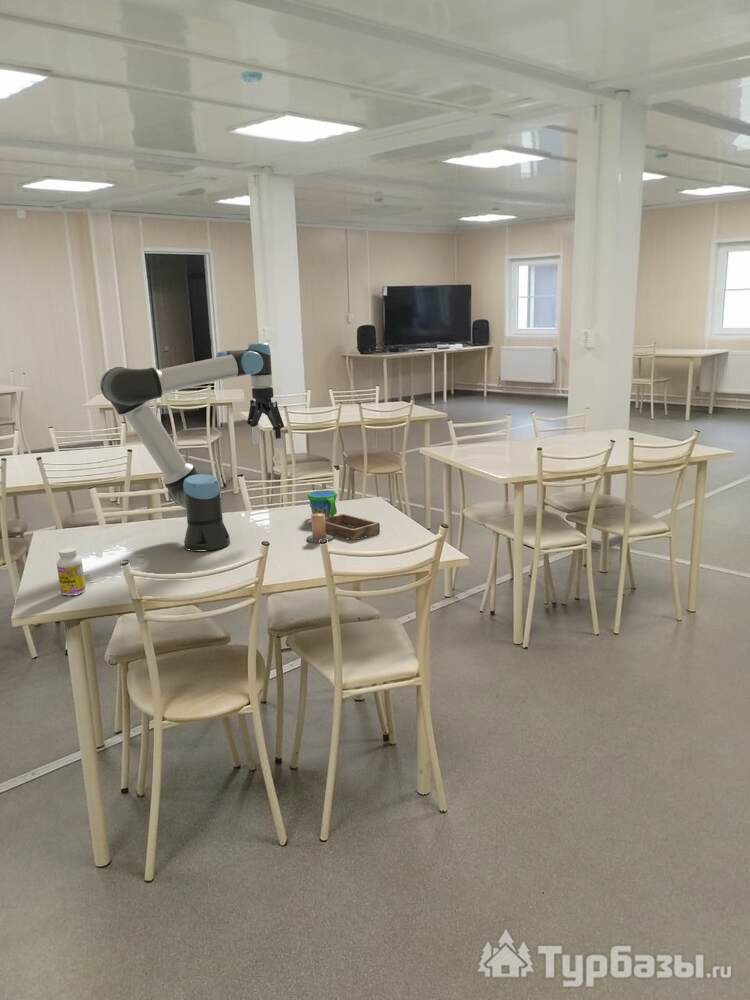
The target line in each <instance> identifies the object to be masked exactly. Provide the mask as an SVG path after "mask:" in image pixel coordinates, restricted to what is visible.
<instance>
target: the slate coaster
mask: <svg viewBox="0 0 750 1000" xmlns="http://www.w3.org/2000/svg"><path fill="white" fill-rule="evenodd" d="M325 539H328V540H329V542H330V540H331V541H333V540H334V535H333V534H330V533H326V538H325ZM319 540H320V539H313V534H311V535H308V536H306V542H307V543H311V544H320V543H319Z"/></svg>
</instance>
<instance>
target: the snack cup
mask: <svg viewBox="0 0 750 1000" xmlns="http://www.w3.org/2000/svg"><path fill="white" fill-rule="evenodd" d="M337 497H338V493H337V492H336V491H334V490H324V489H323V490H315V491H312V492H309V493H308V494H307V498H308V500H309V507H310V509H311V515H312V514H315V513H324V514H325V518H328V517H332V516H336V515H337V513H338V510H337V506H336V499H337Z"/></svg>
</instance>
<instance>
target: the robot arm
mask: <svg viewBox="0 0 750 1000" xmlns="http://www.w3.org/2000/svg"><path fill="white" fill-rule="evenodd" d="M271 357H272V354H271V348H270V344H269V343H267V342H258V343H257V342H254V343H249V344H248V348H247V349H239V350H238V349H237V350H224V351H218V352H217V353H216V355H215V357H213V358H207V359H203V360H198V361H193V362H189V363H183V364H179V365H175V366H170V367H165V368H160V369H157V368H156V367H150V368H149V367H148V368H128V367H123V366H116V367H112V368H109V369H108V370H107V371H105V372H104V374H103V375H102V377H101V379H100V382H99V385H100V392H101V394H102V395H103V397H104V398H105V399H106V400H107V401H109V402H110V404H111V405H112V407H113V408H114V409H115V411H116V412H117V414H118V416H121V417H125V418H126V419H127V421H128V422H129V424H130V425H131V427H132V428H133V430H134V431H135V433H136V434H137V436H138V438H139V439H140V441H141V442H142V444H143V445H144V447H145V448H146V450H147V452H148V453H149V455H150V456H151V457H152V459H153V461H154V462H155V463H156V465H157V466H158V468H159V470H160V471H161V473H162V474H163V480H162V482H163V484H164V485H165V487H166V489H167V491H168V495H169V497H170V499H171V500H172V501H173V503H175V504H176V505H178V506H180V507H182V508H184V509H185V510H186V511H185V512H186V519H187V520H186V522H187V526H186V527H187V528H186V531H185V536H184V540H183V543H184V549H185V548H187V549H190V550H212V551H215V550H214V549H217V550H220V549H219V548H221V549H223V547H224V548H226V547H228V546H229V545H230V544H231V538H230V534H229V532H228V530H227V527H226V525H225V524H224V520H223V519H224V518H223V508H222V507H223V506H222V498H221V497H222V496H221V485H220V482H219V479H218V478H217V477H216V476H214V475H212V474H203V473H202V474H201V473H200V474H199V472H198V470H197V469H196V468H195V466H194V464H193V463H188V462H186V460H185V458H184V457H183V455H182V454H181V452H180V451H179V449H178V447H177V446H176V444H175V443H174V441H173V440H172V438H171V437H170V434H169V433H168V432H167V429H166V428H165V427H164V425H163V423H162V422H161V421H160V419H159V417H158V416H157V415H156V413H155V411H154V409H153V408H152V406H151V405H150V401H152V400H156V399H160V398H163V396H164V394H167V393H172V392H175V391H176V392H177V391H179V390H183V389H184V390H185V389H189V388H192V387H197V386H202V385H206V384H211V383H216V382H220V381H224V380H228V379H233V378H237V377H241V376H242V377H243V376H246V375H249V376H250V382H251V383H250V385H251V387H252V389H251V395H252V399H251V400H250V403H249V405H250V406H249V411H248V417H247V422H246V423H247V425H249V426H250V427H251V435H252V436H251V438H252V445H259V444H261V437H260V425H259V421H260V419H261V417H262V415H263V414H264V415H265V416H267V418H268V420H269V422H270V424H271V426H272V427H273V428H272V441H273V449H278V448H282V440H281V439H282V433H281V429H282V428H285V425H284V421H283V419H282V416H281V413H280V409H279V407H278V401H277V400H274V401H272V398H274V388H273V386H274V385H273V374H272V359H271ZM227 545H228V546H227ZM225 546H226V547H225ZM187 549H186V550H187Z"/></svg>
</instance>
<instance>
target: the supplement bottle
mask: <svg viewBox="0 0 750 1000" xmlns="http://www.w3.org/2000/svg"><path fill="white" fill-rule="evenodd" d="M77 554H78V551H77V548H75V547H65V548H62V549H59V550H58V556H59V559H58V560H57V562H56V568H57V574H58V576H57V577H58V583H59V589H60V590H59V591H60V594H61V595H62V594H63V595H74V594H79V593H82V592H83V593H85V591H86V583H85V582H86V581H85V575H84V569H83V568H84V567H83V561H82V558H81V557H80V556H78V555H77ZM83 593H82V594H83ZM63 595H62V596H63Z"/></svg>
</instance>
